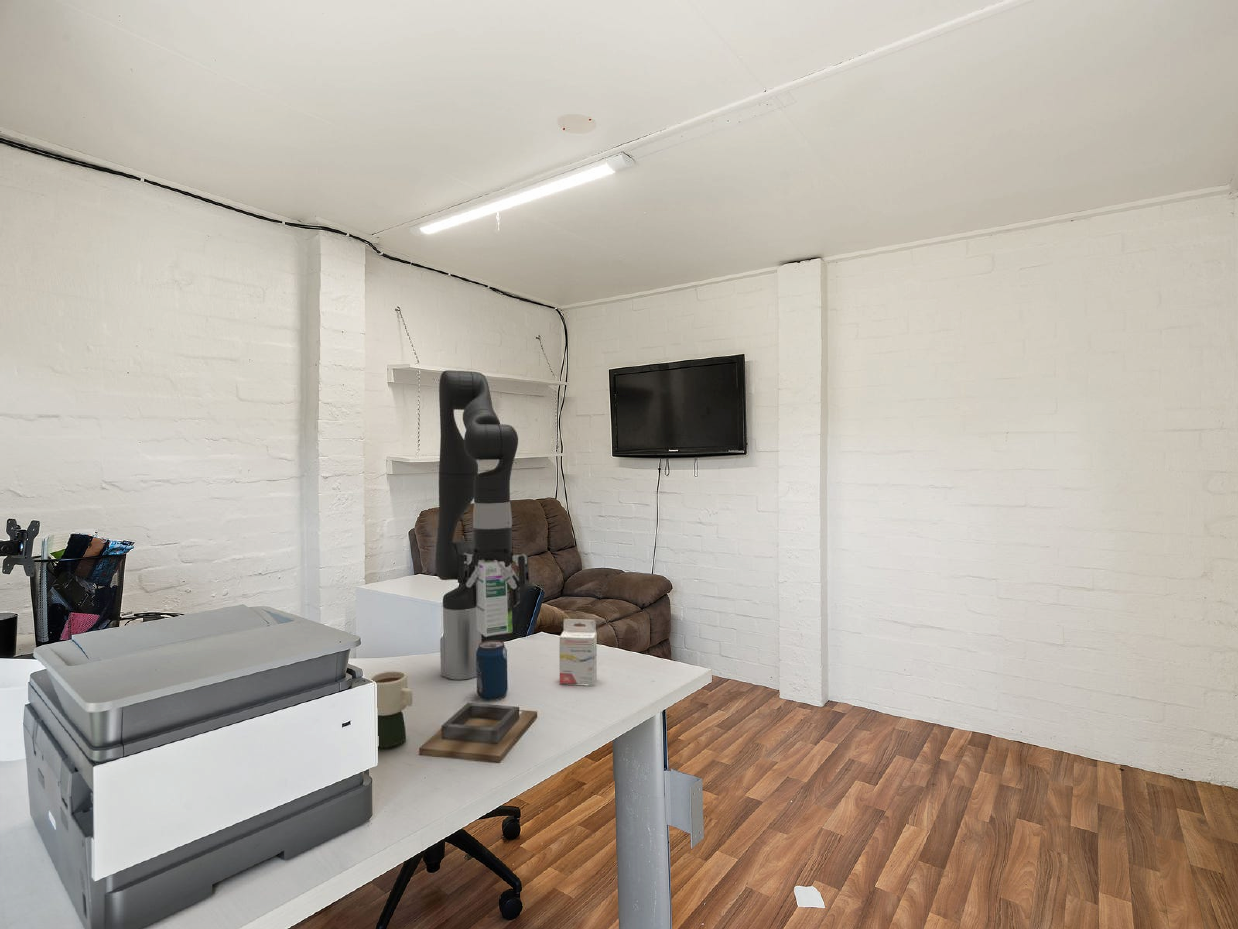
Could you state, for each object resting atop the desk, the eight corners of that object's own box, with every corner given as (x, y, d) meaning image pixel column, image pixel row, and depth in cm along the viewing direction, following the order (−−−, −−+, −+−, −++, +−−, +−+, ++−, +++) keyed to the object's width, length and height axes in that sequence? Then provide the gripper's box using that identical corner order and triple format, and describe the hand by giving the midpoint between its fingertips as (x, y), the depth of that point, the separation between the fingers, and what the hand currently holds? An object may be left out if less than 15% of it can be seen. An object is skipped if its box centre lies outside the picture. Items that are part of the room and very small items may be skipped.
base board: (419, 754, 121) (418, 734, 121) (466, 711, 141) (466, 694, 141) (499, 762, 118) (499, 742, 118) (537, 717, 137) (537, 699, 137)
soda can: (513, 692, 151) (512, 640, 151) (497, 703, 145) (496, 650, 144) (487, 688, 154) (486, 638, 153) (470, 699, 147) (469, 647, 147)
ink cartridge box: (559, 685, 155) (558, 624, 155) (562, 678, 160) (562, 618, 160) (594, 686, 154) (594, 624, 154) (597, 678, 159) (596, 619, 159)
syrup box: (484, 637, 127) (483, 563, 126) (476, 630, 132) (474, 558, 131) (512, 633, 129) (511, 560, 129) (503, 626, 135) (502, 555, 134)
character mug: (424, 739, 127) (423, 673, 127) (400, 756, 121) (398, 686, 120) (379, 731, 131) (377, 667, 131) (353, 747, 125) (351, 679, 124)
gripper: (450, 526, 128) (452, 609, 128) (520, 527, 125) (521, 612, 125) (466, 522, 135) (468, 600, 135) (532, 523, 132) (534, 602, 133)
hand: (493, 605), depth 130 cm, fingers closed on syrup box, 8 cm apart
